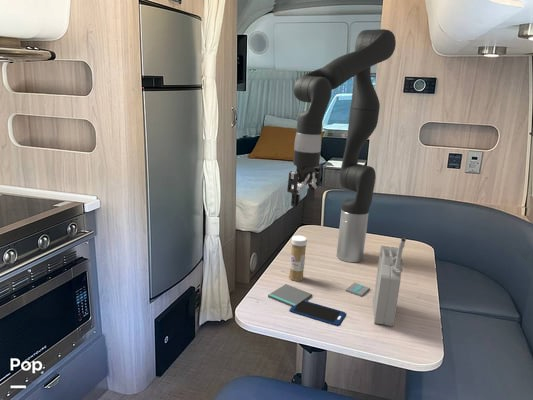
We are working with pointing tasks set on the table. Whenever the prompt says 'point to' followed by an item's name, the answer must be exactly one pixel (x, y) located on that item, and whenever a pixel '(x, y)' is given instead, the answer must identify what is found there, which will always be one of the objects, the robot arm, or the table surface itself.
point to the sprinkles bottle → (297, 258)
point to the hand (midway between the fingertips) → (302, 203)
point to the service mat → (289, 295)
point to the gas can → (388, 284)
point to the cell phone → (319, 312)
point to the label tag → (357, 289)
